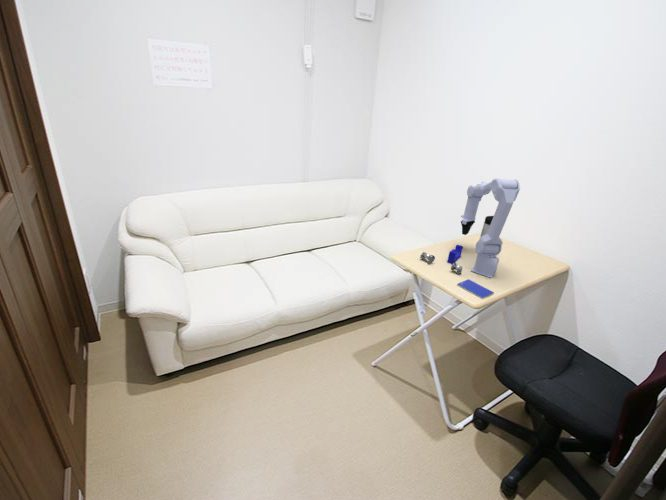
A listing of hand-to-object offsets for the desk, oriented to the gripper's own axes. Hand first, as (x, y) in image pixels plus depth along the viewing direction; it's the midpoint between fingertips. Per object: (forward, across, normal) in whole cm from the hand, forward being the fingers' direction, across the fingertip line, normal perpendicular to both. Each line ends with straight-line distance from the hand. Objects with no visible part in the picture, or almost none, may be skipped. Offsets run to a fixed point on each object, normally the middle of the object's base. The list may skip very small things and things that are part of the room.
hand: (465, 233), depth 183 cm
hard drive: (+10, +38, +19) cm, 44 cm away
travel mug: (+10, -6, +10) cm, 15 cm away
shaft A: (+9, +29, +7) cm, 31 cm away
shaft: (+9, +27, -8) cm, 30 cm away
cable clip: (+10, +15, +1) cm, 18 cm away
